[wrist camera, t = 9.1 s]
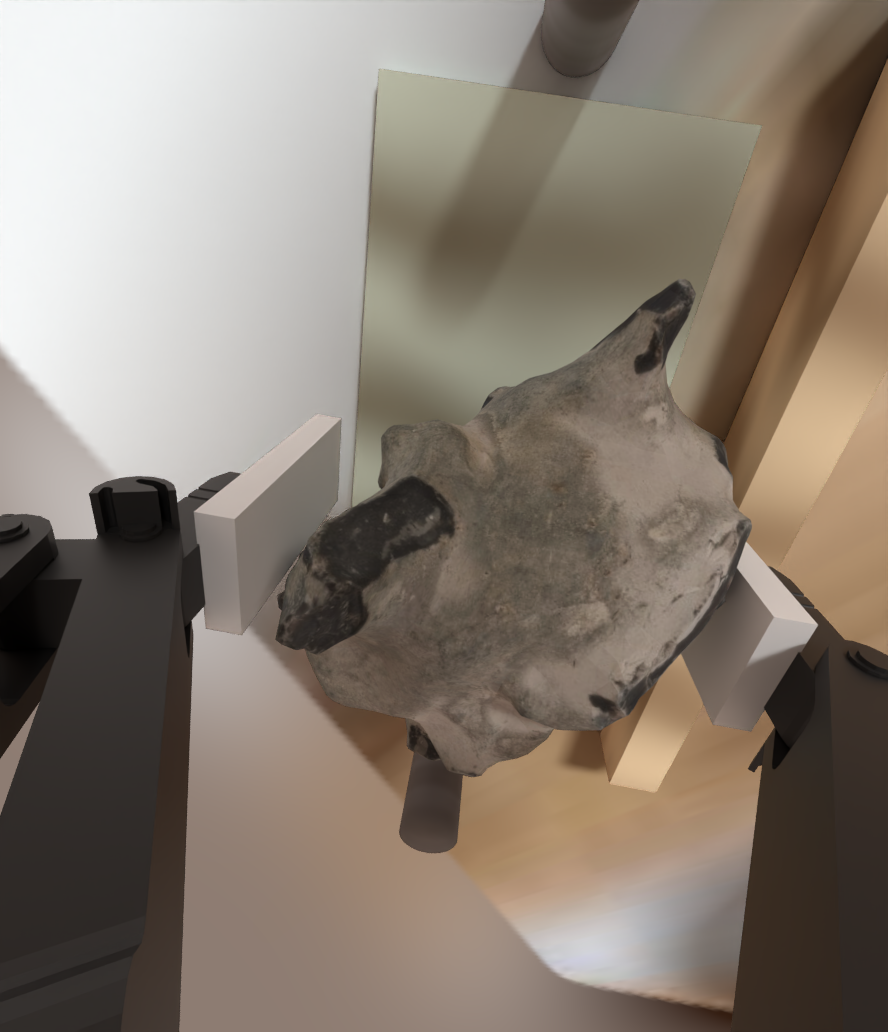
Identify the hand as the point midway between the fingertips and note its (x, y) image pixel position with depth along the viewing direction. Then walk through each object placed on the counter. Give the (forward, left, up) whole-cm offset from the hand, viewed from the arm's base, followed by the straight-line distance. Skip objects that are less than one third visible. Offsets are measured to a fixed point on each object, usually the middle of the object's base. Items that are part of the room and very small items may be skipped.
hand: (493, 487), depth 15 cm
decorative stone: (+1, 0, -1) cm, 1 cm away
